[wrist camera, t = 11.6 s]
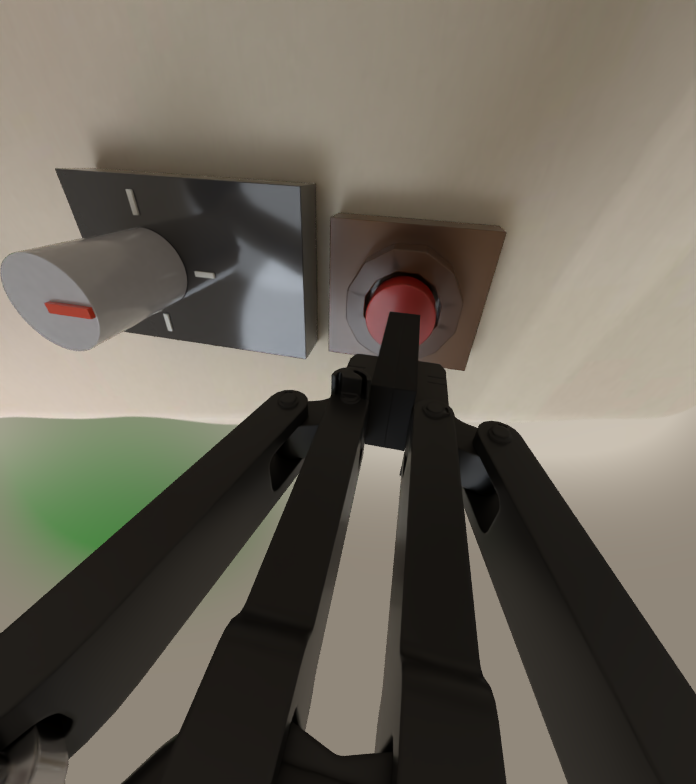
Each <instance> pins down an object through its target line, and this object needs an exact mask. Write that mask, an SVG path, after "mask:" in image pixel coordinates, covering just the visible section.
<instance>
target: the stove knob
mask: <svg viewBox="0 0 696 784" xmlns="http://www.w3.org/2000/svg"><path fill="white" fill-rule="evenodd" d="M1 280H2V284H3V287H4V289H5V292H6V294H7V296H8V298H9V300H10V301H11V303H12V305H13V306H14V307H15V309H16V310H17V312H18V313H19V314H20V315H21V316H22V318H23V319H24V320H25V321H26V322H27V323H28V324H29V325H30V326H31V327H32V328H33V329H34V330H36V331H37V332H38V333H39V334H41V335H42V336H43V337H45V338H46V339H48V340H49V341H51V342H53V343H54V344H56V345H58V346H61V347H63V348H66V349H69V350H73V351H86V350H90V349H92V348H94V347H96V346H98V345H99V344H101V343H103V342H105V341H107V340H109V339H110V338H112V337H114V336H116V335H118V334H120V333H122V332H123V331H125V330H127V329H129V328H131V327H133V326H135V325H136V324H138V323H140V322H142V321H144V320H146V319H148V318H149V317H151V316H153V315H155V314H157V313H159V312H160V311H162V310H164V309H166V308H168V307H170V306H172V305H173V304H175V303H177V302H179V301H180V300H181V299H182V298H183V296H184V295H185V292H186V289H187V275H186V271H185V267H184V265H183V262H182V260H181V258H180V257H179V255H178V253H177V252H176V251H175V249H174V248H173V247H172V246H171V245H170V243H169V242H167V241H166V240H165V239H164V238H163V237H162V236H160V235H159V234H157V233H155V232H153V231H151V230H149V229H146V228H141V227H133V228H128V229H123V230H119V231H114V232H109V233H104V234H99V235H95V236H90V237H85V238H80V239H76V240H71V241H66V242H61V243H56V244H52V245H47V246H42V247H37V248H32V249H28V250H23V251H18V252H14V253H11V254H9V255H8V256H7V257H5V259H4V260H3V262H2V265H1Z"/></svg>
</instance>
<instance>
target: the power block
mask: <svg viewBox="0 0 696 784" xmlns="http://www.w3.org/2000/svg"><path fill="white" fill-rule="evenodd" d="M506 233H507V232H506V231H505V230H504V229H503V228H501V227H500V226H495V225H482V224H470V223H458V222H446V221H434V220H422V219H410V218H397V217H385V216H373V215H361V214H349V213H338V214H336V215H334V216H332V217H331V218H330V282H329V351H331V352H338V353H345V354H352V355H356V354H357V353H358V354H366V355H373V356H378V355H379V351H380V347H381V345H380V344H379V343H378V342H376V341H375V340H374V339H373V337H372V336H371V335H370V333H369V331H368V329H367V325H366V319H365V317H366V310H367V306H368V304H369V302H370V300H371V297H372V295H373V293H374V292H375V290H376V289H377V288H378V286H379V285H381V284H382V283H383V282H384V281H386V280H388V279H390V278H393V277H397V276H409V277H413V278H416V279H418V280H420V281H422V282H423V283H424V284H425V285H427V286H428V288H429V289H430V290H431V292H432V294H433V296H434V299H435V305H436V321H435V326H434V329H433V331H432V333H431V335H430V336H429V337H428V338H427V340H425V341H424V342H423V343H422V344H421V345H419V357H418V361H422V362H429V363H436V364H440V365H441V366H442V367H443V368H448V369H455V370H462V371H464V370H465V368H466V364H467V361H468V358H469V355H470V351H471V348H472V345H473V341H474V338H475V335H476V332H477V328H478V325H479V322H480V318H481V315H482V312H483V309H484V305H485V302H486V299H487V295H488V292H489V289H490V286H491V282H492V279H493V276H494V272H495V269H496V266H497V263H498V259H499V256H500V253H501V249H502V246H503V243H504V240H505V236H506Z"/></svg>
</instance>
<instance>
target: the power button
mask: <svg viewBox="0 0 696 784" xmlns="http://www.w3.org/2000/svg"><path fill="white" fill-rule="evenodd" d="M390 311H391V312H400V313H408V314H416V315H420V335H419V345H421V344H422V343H423V342H424V341H425V340H427V338H428V337H429V336H430V335H431V333H432V331H433V329H434V326H435V321H436V305H435V299H434V296H433V294H432V292H431V290H430V289H429V288H428V286H427V285H425V284H424V283H423V282H422V281H420V280H418V279H416V278H413V277H409V276H397V277H393V278H390V279H388V280H386V281H384V282H383V283H382V284H381V285H379V286H378V288H377V289H376V290H375V292H374V293H373V295H372V297H371V300H370V302H369V304H368V306H367V310H366V317H365V319H366V325H367V329H368V331H369V333H370V335H371V336H372V337H373V339H374V340H375V341H376V342H378V343H379V344H380V345H381V343H382V339H383V336H384V332H385V328H386V324H387V320H388V316H389V312H390Z"/></svg>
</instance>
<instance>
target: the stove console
mask: <svg viewBox="0 0 696 784" xmlns="http://www.w3.org/2000/svg"><path fill="white" fill-rule="evenodd" d="M55 170H56V173H57V175H58V178H59V180H60V183H61V185H62V188H63V190H64V193H65V195H66V198H67V200H68V203H69V205H70V208H71V210H72V213H73V215H74V218H75V220H76V223H77V225H78V228H79V230H80V233H81V235H82V238H85V237H90V236H95V235H99V234H104V233H109V232H114V231H119V230H123V229H128V228H133V227H141V228H146V229H149V230H151V231H153V232H155V233H157V234H159V235H160V236H162V237H163V238H164V239H165V240H166V241H167V242H169V243H170V245H171V246H172V247H173V248H174V249H175V251H176V252H177V253H178V255H179V257H180V258H181V260H182V262H183V265H184V267H185V271H186V275H187V289H186V292H185V295H184V296H183V298H182V299H181V300H180V301H179V302H177V303H175V304H173V305H172V306H170V307H168V308H166V309H164V310H162V311H160V312H159V313H157V314H155V315H153V316H151V317H149V318H148V319H146V320H144V321H142V322H140V323H138V324H136V325H135V326H133V327H131V328H129V329H127V330H125V331H123V332H129V333H136V334H143V335H149V336H156V337H163V338H169V339H176V340H182V341H189V342H196V343H202V344H209V345H216V346H222V347H229V348H236V349H242V350H249V351H255V352H262V353H269V354H275V355H282V356H289V357H295V358H302V359H306V358H307V357H308V355H309V354H310V352H311V351H312V349H313V348H314V346H315V345H316V343H317V251H316V184H315V183H302V182H288V181H274V180H259V179H245V178H231V177H216V176H202V175H188V174H173V173H159V172H145V171H130V170H116V169H102V168H56V169H55Z"/></svg>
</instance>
